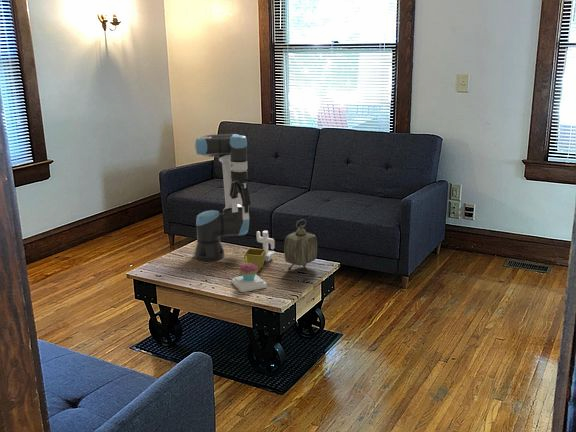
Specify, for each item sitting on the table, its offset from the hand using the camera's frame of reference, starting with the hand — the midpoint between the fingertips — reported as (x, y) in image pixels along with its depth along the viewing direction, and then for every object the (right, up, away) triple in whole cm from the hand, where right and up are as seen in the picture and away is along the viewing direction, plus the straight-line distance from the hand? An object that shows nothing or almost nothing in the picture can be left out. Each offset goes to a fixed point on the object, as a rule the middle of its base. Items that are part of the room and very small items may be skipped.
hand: (240, 215), depth 277 cm
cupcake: (+4, -29, -6) cm, 29 cm away
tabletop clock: (+28, -26, +14) cm, 41 cm away
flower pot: (+6, -26, +14) cm, 30 cm away
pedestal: (+4, -31, -5) cm, 32 cm away
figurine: (+11, -22, +27) cm, 36 cm away
